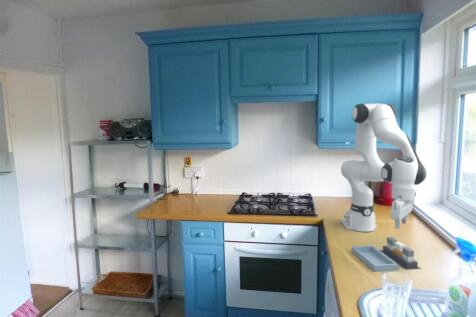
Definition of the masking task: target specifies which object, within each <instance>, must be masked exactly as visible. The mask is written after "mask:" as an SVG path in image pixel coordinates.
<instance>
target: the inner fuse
mask: <svg viewBox="0 0 476 317" xmlns="http://www.w3.org/2000/svg"><path fill="white" fill-rule="evenodd" d="M395 242H398V239H396V238H394V237H393V236H390V237H386V246H387V248H389V249H390V250H394V244H395Z"/></svg>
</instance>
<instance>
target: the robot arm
mask: <svg viewBox="0 0 476 317" xmlns="http://www.w3.org/2000/svg"><path fill="white" fill-rule="evenodd" d="M396 114H397V109H396V107H395V106H394V105H393V104H390V103H389V104H388V103H379V102H374V103H358V104H355V106H353V109H352V112H351V117H352V120H353V122H354V123H356V125H357V126H356V128H355V129H356V130H355V140H354V141H355V142H354V149H355V151H356V153H358V154H360V155H361V156H362V157H363V160H353V159H352V160H346V161H344V162H343V163H342V165H341V166H340V172H341V175H342V176H343V177H344V178H345V179H346V180H347V182H348V183H349V185H350V187H351V193H352V194H351V195H352V196H351V197H352V198H351V199H352V202H351V203H350V209H348V210H347V211H346V212H344V215H343V218H342V219H340V223H341V224H342V223H343V224H342V226H344V228H345V229H347V230H352V231H357V232H362V233H363V232H364V233H369V232H374V231H375V230H376V229H377V228H378V225H377V224H376V213H375V212H374V211H375V210H374V209H375V207H374V206H375V205H374V191H373V190H372V188H370V187H368V185H366V184H365V182H375V183H378V182H385V183H388V184H392V186H391V199H393V201H392V203H391V208H390V209H391V210H390V219H391V220H393V221H394V224H395V226H394V227H395V229H397V230H398V229H401V225H402V224H404V225H405V224H407V223H408V217H409V214H410V213H411V212H412V211H413V208H414V202H415V198H416V197H417V196H416V194H417V192H416V186H418V185H420V184H421V183H423V182H424V181H425V179H426V178H427V170H426V168H425V165H423V163H422V162H421V160H420V158H419V156H418V154H417V153H418V152H416V149H415V147H414V145H413V143H412V141H411V139H410V137H409V135H408V134H407V133H405V132H404V131H403V130H402V129H401V128H400V126H398V125H399V124H398V123H397V119H396V116H397V115H396ZM377 140H378V141H379V142H381V143H384V144H388V145H390V146H393V147H395V148H397V149H399V150H400V151H401V153H402V155H403V156H397V157H395V158H394V159H393V161H390V162H386V163H384V162H383V160H381V158H380V157H379V154H378V151H377ZM415 185H416V186H415ZM344 219H345V220H344Z"/></svg>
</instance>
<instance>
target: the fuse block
mask: <svg viewBox="0 0 476 317" xmlns="http://www.w3.org/2000/svg"><path fill="white" fill-rule="evenodd" d="M379 251H381V252H382V253H383V254H385V255H386V256H387V257H389V258H390V259H391V260H393V261H394V262H395V263H397V264H398V266H400V267H401V268H402V269H404V270H406V271H408V270H409V271H410V270H421V269H422V268H421V267H420V266H419V265H418V263H419V262H418V261H416V260H415V259H414V260H413V262H407V261H406V260H404V259H403V258H402V256H399V255H397V254H396V253H394V250H390V249H389V248H387V245H383V246H382V249H379Z"/></svg>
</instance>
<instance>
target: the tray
mask: <svg viewBox="0 0 476 317" xmlns="http://www.w3.org/2000/svg"><path fill="white" fill-rule="evenodd" d="M351 252H352V253H353V255H355V256H356V257H357V258H358V259H360V260H361V262H362V263H364V264H365V265H366V266H367V267H369V269H371V271H373V272H375V273H377V272H393V271H398V269H399V268H398V267H399V265H398V264H397V263H396V262H394V261H393V260H392V259H390V258H389V257H388V256H386V255H385V254H384V253H382V252H381V251H380V249H378V248H376V247H375V246H374V245H354V246H351Z"/></svg>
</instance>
